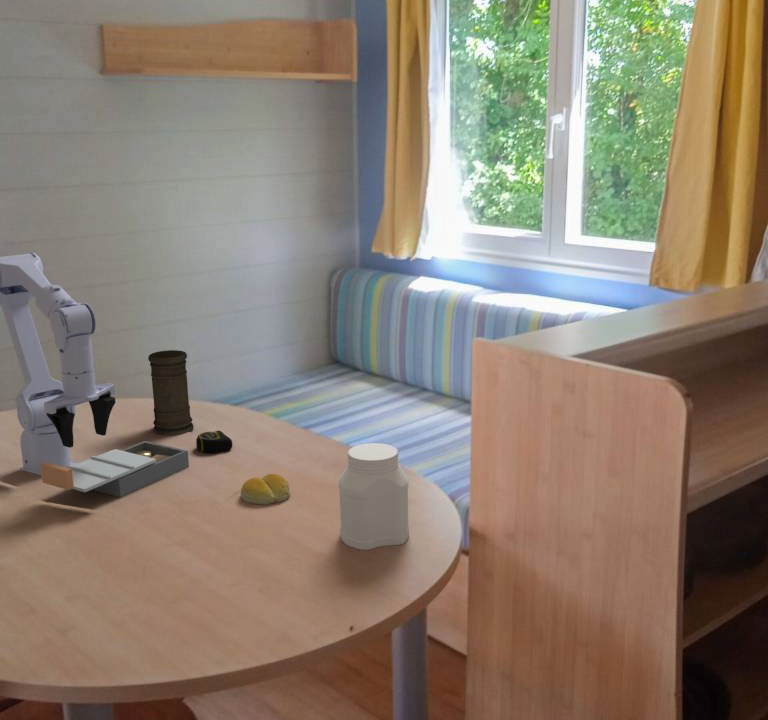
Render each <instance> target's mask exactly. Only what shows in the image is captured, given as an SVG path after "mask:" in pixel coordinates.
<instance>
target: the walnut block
mask: <svg viewBox="0 0 768 720" xmlns="http://www.w3.org/2000/svg"><path fill="white" fill-rule="evenodd" d="M168 457H170V456H165V455H158V454H157V455H155V456H153V457H151V458H154V459H156V462H159V461H161V460H163V459H166V458H168ZM156 462H155V463H156ZM153 464H154V463H153ZM150 465H152V464H150ZM148 466H149V465H148ZM146 467H147V466H146Z"/></svg>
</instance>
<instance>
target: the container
mask: <svg viewBox="0 0 768 720" xmlns="http://www.w3.org/2000/svg"><path fill="white" fill-rule="evenodd" d="M187 354H188V353H187V352H186V351H183V350H177V349H176V350H175V349H174V350H173V349H172V350H171V349H169V350H161V351H155V352H152V353H151V354H149V355H148V358H147V361H149V362H150V363H149V365H150V369H151V370H150V371H151V372H150V376H151V383H152V385H151V386H152V396H153V397H152V398H153V415H154V421H153V422H152V424H153V425H154V427H153V432H154V433H155V434H157V435H160V436H179V435H184V434H188V433H192V432H193V430H194V427H195V426H194V424H193V422H192V421H193V418H192V416H191V406H190V399H189V392H188V390H189V389H188V388H189V386H188V377H187V373H188V371H187V369H186V368H187V367H186V366H187V365H186V364H187V360H186V359H188V355H187Z"/></svg>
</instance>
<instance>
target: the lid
mask: <svg viewBox="0 0 768 720" xmlns="http://www.w3.org/2000/svg"><path fill="white" fill-rule="evenodd" d="M121 450H122V449H116V448H114V449H112V450H109V451H107V452H103V453H102V454H98V455H97V456H96V455H91V456H90V458H88V459H85V460H84V461H83V460H82V461H81V462H78V464H75V465H73V466H71V465H68V466H67V467H63V466H59V465H55V464H52V463H48V462H44V463H42V464H40V465H41V473H42V475H41V480H42V484H46V485H49V486H53V487H56V488H60V489H64V490H67V491H70V490H75V491H79V492H82V493H87V492H89V491H91V490H92V489H94V488H96V487H99V486H101V485H103V484H106V483H108V482H110V481H113V480H115V479H117V478H120V477H122V476H125V475H127V474H129V473H132V472H134V471H136V470H139V469H141V468H143V467H146V466H148V465H150V464H153V463H155V462H156V459H154V458H150V457H146V456H142V455H137V454H133V453H129V452H125V451H121ZM92 491H93V490H92Z"/></svg>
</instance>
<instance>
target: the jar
mask: <svg viewBox="0 0 768 720" xmlns="http://www.w3.org/2000/svg"><path fill="white" fill-rule="evenodd" d="M347 463H348V464H347V466H346V467H345V469H344V471H343V472H342V474H341V475H340V476H339V478H338V489H339V510H340V511H339V513H340V529H339V530H340V531H339V533H340V539H341V542H342V543H344V544H345V545H347V546H348V547H351V548H353V549H356V550H360V551H368V550H373V549H377V548H381V547H388V546H400V545H403V544H404V543H406V542H407V541H408V539H409V536H410V526H409V477H408V475H407V474H406V472H405V471H404V470H403V468H402V467H401V466H400V464H399V450H398V448H396V447H395V446H393V445H390V444H386V443H378V442H375V443H372V442H371V443H363V444H362V443H361V444H358V445H354V446H353V447H351V448H350V449H349V450H347Z"/></svg>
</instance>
